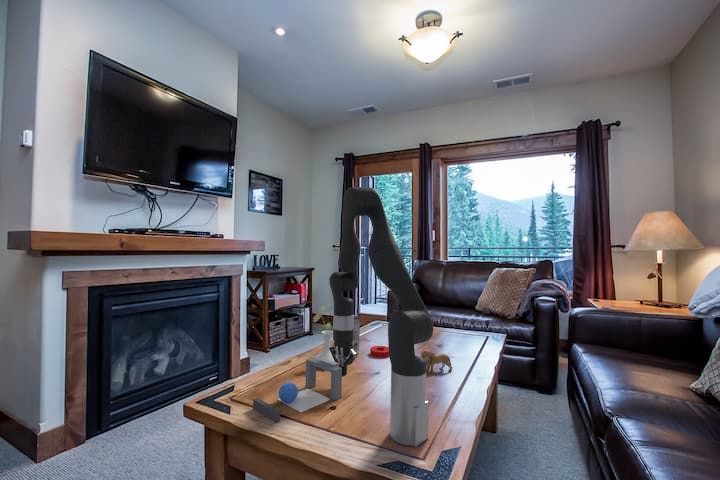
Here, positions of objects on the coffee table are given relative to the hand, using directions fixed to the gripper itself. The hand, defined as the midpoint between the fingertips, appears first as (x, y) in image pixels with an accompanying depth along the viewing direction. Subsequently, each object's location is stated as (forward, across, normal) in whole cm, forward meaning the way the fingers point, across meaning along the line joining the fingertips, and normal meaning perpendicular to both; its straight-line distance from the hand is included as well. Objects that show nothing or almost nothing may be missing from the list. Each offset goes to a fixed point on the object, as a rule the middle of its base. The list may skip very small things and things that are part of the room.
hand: (342, 375), depth 122 cm
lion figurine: (+4, +17, +37) cm, 41 cm away
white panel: (+3, 0, -17) cm, 17 cm away
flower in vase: (+3, -19, +9) cm, 22 cm away
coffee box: (+3, -29, +33) cm, 44 cm away
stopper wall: (+3, 0, -31) cm, 31 cm away
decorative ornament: (+4, -13, +37) cm, 39 cm away
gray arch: (+3, 0, -9) cm, 10 cm away
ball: (0, -3, -22) cm, 22 cm away
